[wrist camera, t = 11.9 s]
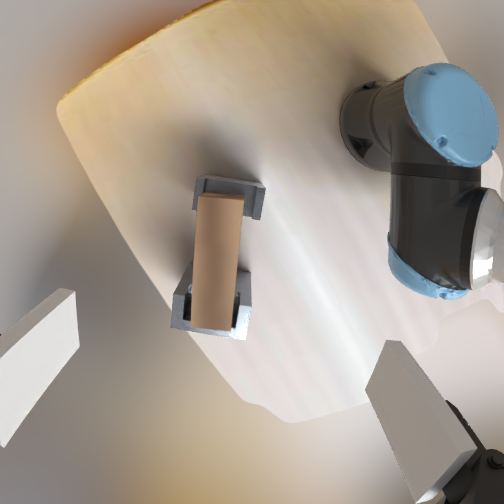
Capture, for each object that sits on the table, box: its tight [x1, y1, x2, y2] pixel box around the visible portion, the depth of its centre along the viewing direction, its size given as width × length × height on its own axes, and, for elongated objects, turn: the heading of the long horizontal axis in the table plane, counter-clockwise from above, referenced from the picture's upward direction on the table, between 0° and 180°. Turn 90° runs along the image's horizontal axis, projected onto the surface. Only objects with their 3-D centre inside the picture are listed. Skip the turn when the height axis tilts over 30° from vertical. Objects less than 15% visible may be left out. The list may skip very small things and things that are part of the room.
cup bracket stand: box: [171, 175, 266, 340], centre depth 44 cm, size 10×20×13 cm, turn 170°
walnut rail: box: [191, 192, 245, 332], centre depth 39 cm, size 5×16×6 cm, turn 174°
